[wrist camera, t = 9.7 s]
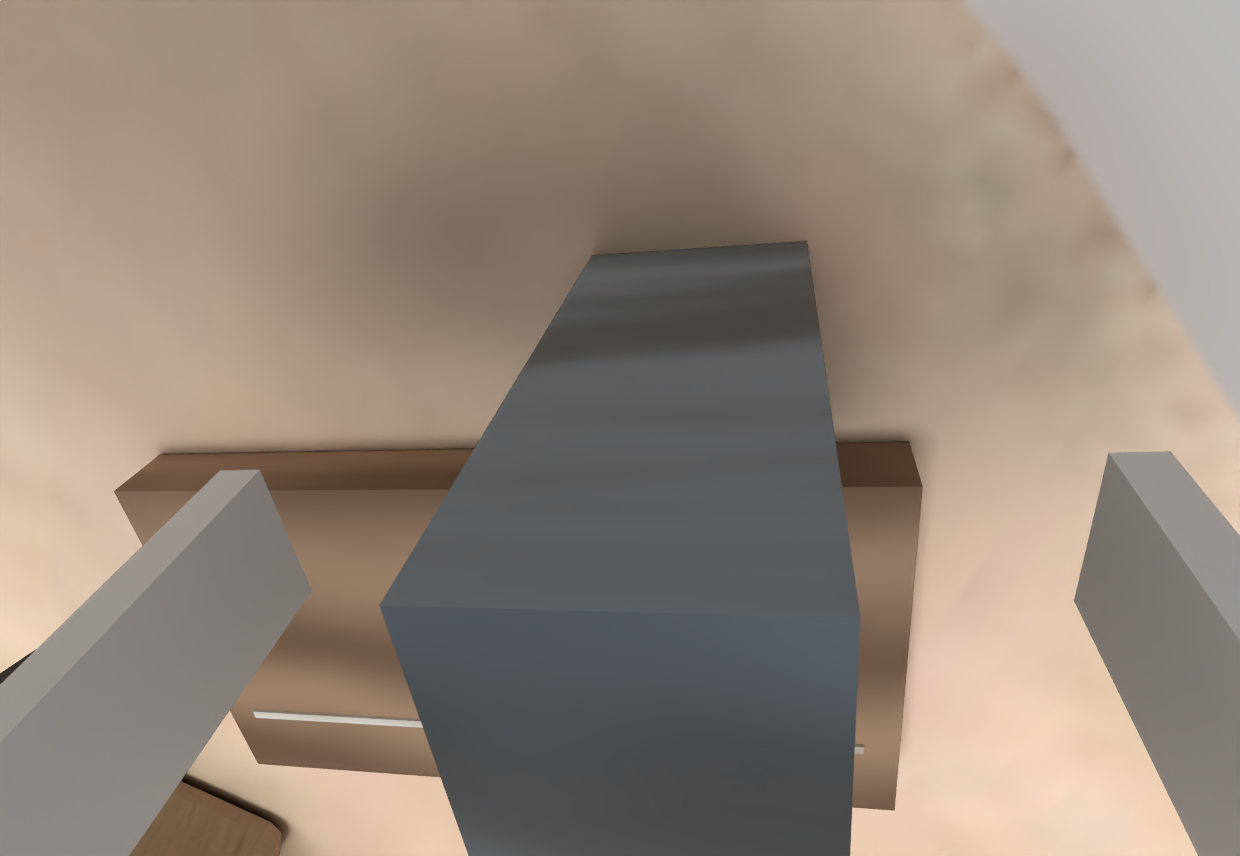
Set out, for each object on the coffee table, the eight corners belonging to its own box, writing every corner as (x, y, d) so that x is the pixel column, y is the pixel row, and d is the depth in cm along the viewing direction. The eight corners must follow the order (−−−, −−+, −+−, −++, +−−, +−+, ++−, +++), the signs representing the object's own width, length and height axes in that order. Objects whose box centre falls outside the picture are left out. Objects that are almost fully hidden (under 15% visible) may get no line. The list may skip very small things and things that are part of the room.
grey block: (591, 255, 19) (378, 605, 8) (806, 241, 18) (861, 617, 7) (654, 703, 26) (582, 1172, 16) (806, 710, 25) (833, 1216, 15)
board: (160, 454, 24) (111, 493, 22) (909, 441, 20) (923, 489, 18) (287, 718, 30) (256, 766, 28) (886, 754, 26) (895, 813, 24)
